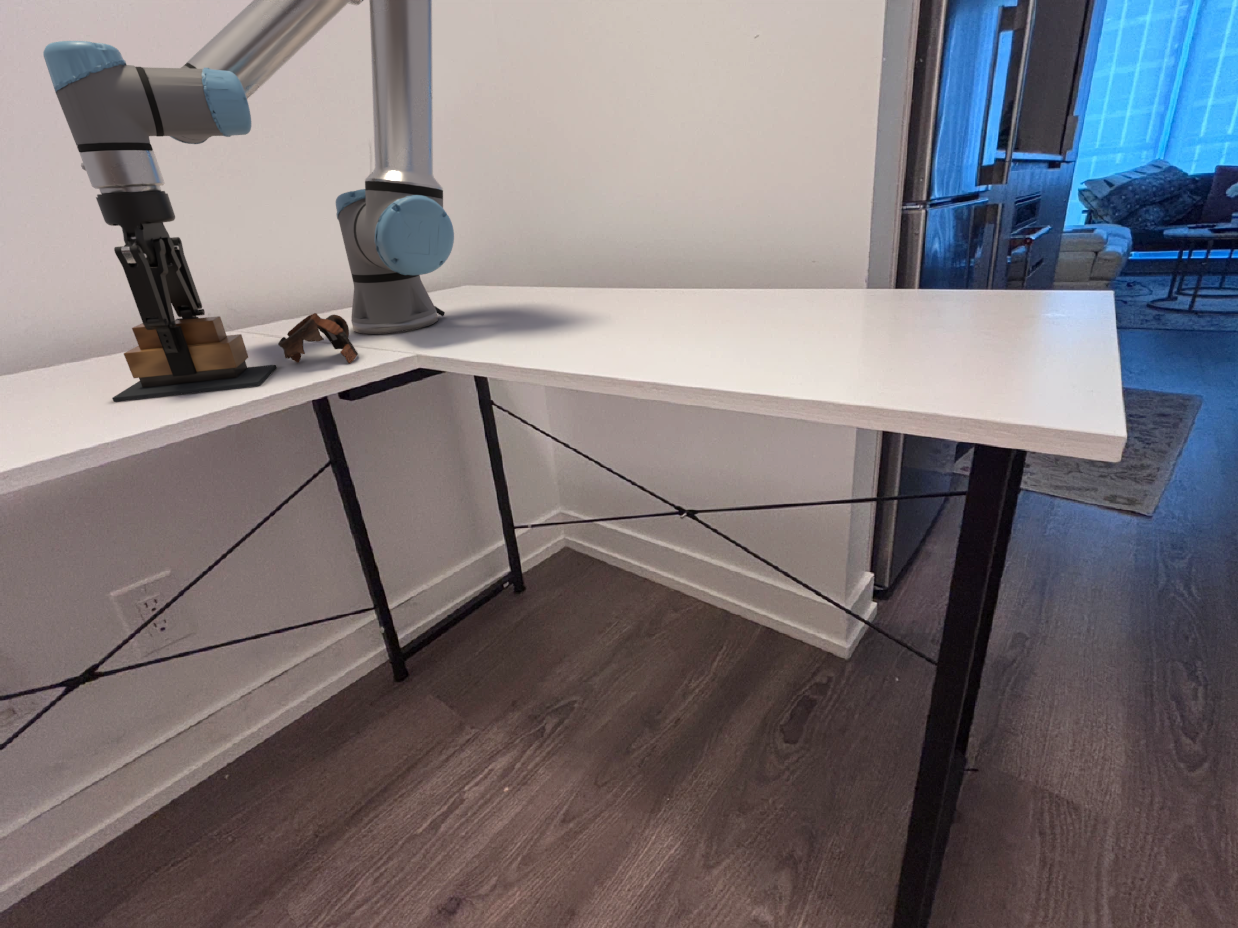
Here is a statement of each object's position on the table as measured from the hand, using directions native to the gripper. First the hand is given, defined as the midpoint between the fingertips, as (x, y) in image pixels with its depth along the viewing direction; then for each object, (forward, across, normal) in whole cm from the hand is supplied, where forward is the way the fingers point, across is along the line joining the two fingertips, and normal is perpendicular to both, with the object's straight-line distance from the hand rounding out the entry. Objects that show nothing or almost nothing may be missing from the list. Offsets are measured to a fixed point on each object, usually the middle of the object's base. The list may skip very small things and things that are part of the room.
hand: (193, 368), depth 88 cm
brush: (+1, 0, 0) cm, 1 cm away
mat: (+2, +1, +1) cm, 3 cm away
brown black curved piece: (+2, -4, +17) cm, 18 cm away
